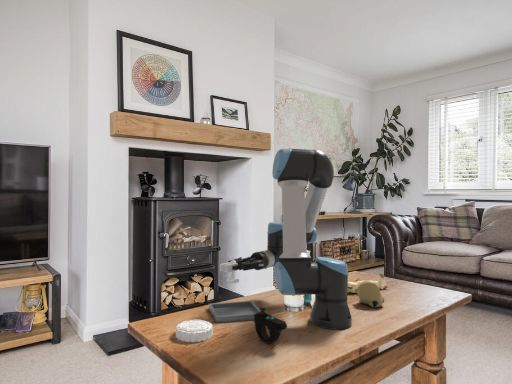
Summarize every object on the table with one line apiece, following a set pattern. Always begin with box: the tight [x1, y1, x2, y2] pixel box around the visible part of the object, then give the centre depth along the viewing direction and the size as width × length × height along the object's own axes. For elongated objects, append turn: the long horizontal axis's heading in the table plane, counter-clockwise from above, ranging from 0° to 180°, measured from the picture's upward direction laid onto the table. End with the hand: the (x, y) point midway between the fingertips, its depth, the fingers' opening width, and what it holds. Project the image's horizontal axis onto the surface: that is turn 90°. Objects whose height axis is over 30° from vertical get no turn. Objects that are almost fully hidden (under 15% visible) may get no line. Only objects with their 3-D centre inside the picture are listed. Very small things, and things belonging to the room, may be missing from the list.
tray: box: [208, 300, 261, 324], centre depth 142 cm, size 16×18×2 cm
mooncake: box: [175, 319, 214, 343], centre depth 120 cm, size 12×12×4 cm
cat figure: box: [347, 272, 389, 294], centre depth 180 cm, size 10×9×25 cm
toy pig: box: [355, 279, 385, 308], centre depth 157 cm, size 10×12×11 cm
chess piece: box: [226, 255, 240, 284], centre depth 143 cm, size 5×5×10 cm
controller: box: [253, 307, 288, 344], centre depth 115 cm, size 4×12×10 cm, turn 43°
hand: (223, 268), depth 139 cm, fingers closed on chess piece, 2 cm apart
